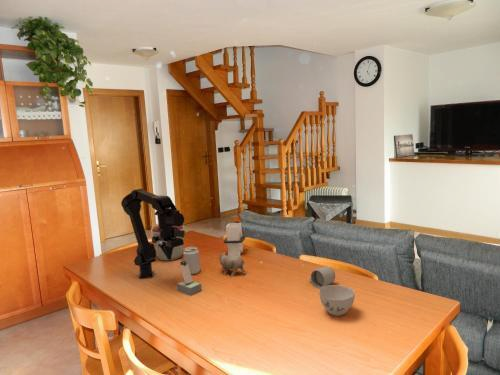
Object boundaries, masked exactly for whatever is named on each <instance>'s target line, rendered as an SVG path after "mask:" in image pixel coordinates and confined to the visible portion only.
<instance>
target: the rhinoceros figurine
mask: <svg viewBox="0 0 500 375" xmlns="http://www.w3.org/2000/svg"><path fill="white" fill-rule="evenodd" d="M217 255H218V256H219V255H220V256H219V263H220V265H221V267H222V269H223V271H224V273H223V275H227V274H228V271H230V270H233V271H232V273H231V274H230V276H231V277H234V276H235V274H236V273H237V270H238V269H239V270H241V272H242V273H241V275H242V276H244V275H246V274H247V273H246V270H245V268H244V264H245V261H244V259H243V257H242V256H241V255H240V256H239V255H234V254H231V255H228V254H227V255H226V252H223V253H222V254H219V253H217Z"/></svg>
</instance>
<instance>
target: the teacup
mask: <svg viewBox="0 0 500 375" xmlns="http://www.w3.org/2000/svg"><path fill="white" fill-rule="evenodd" d="M355 293H356V292H355V290H354V289H353V288H350V287H348V286H346V285H342V284H329V285H327V286H323V287H322V288H318V295H319V300H320V302H321V305H322V307H323V308H324V309H325V310H326V311H327V312H328V314H330V315H332V316H337V317H338V316H340V317H341V316H343V315H345V314H346V313H347V312H348V311H349V310H350V309H351V308H352V305H353V303H354V301H355V296H356V294H355Z"/></svg>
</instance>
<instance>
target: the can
mask: <svg viewBox="0 0 500 375" xmlns="http://www.w3.org/2000/svg"><path fill="white" fill-rule="evenodd" d="M182 255H183V261H186V263H187V264H188V267H189V270H190V273H191V275H196V274H199V272H200V271H201V263H200V262H201V261H200V251H199V249H198V247H196V246H188V247H185V248H183V253H182Z"/></svg>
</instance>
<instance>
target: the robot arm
mask: <svg viewBox="0 0 500 375" xmlns="http://www.w3.org/2000/svg"><path fill="white" fill-rule="evenodd" d="M142 202H143V203H144V202H145V203H146V204H149V205H150V206H151V208H152V209H154V210H155V213H154V215H155V216H157V223H158V224H157V225H159V228H157V230H158V231H159V232H160V235H156V236H153V235H152V238H151V242H150V241H149V239H148V236H147V233H146V229H145V226H144V222H143V219H142V217H141V210H142ZM120 203H121V204H120V205H121V207H122V210H123V211H124V212H125V214H126V215H128V216H129V219H130V224H131V226H132V229H133V233H134V236H135V240H136V242H137V247H136V255H135V258H134V259H133V263H134V265H135V266H138V267H139V276H138V278H139V279H145V278H146V279H148V278H153V277H154V272H155V271H153V266H152V265H153V264H152V263H155V262H156V261H157V260H156V259H157V253H156V248H155V244H154V243H156V241H159V242H160V244H159V245H158V246H160V248H161V249H162V251H163V252H164V254H165V255H166V257H167V258H168V259H169V261H171V260H170V259H171V257H172V251H173V248H174V247H177V246H180V245H183V246H184V245H185V243H184V239H185V234H186V230H184V231H182V230H178V228H177V227H174V226H178V227H179V226H182V225H183V226H184V224H185V223H184V222H185V216H184V215H183V213H180V211H181V210H179V209H177V207H176V205H175V204H174V202H173V200H172V199H171V197H170V196H169V195H158V194H154V193H152V192H149V191H147V190H145V189H143V188H138V189H137V188H136V189H133V190H132V191H131V192H130V193H129V194H127V195H126V196H124V197H123V198H122V200H121V202H120ZM176 236H177V237H182V238H183V239H181V238H176ZM173 238H174V239H173Z"/></svg>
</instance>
